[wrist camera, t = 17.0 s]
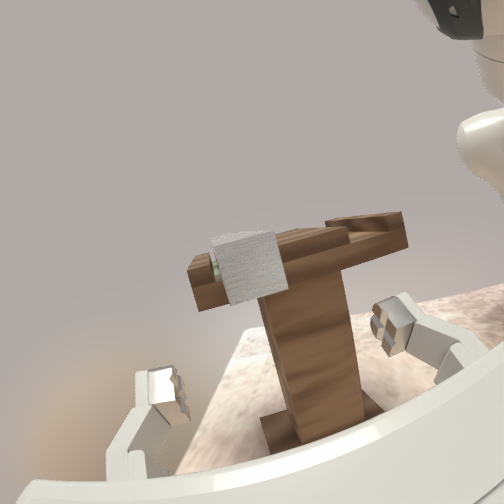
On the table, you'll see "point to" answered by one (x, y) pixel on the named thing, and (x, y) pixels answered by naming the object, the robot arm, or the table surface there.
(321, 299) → the walnut pedestal
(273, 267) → the aluminium bar
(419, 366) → the table surface
